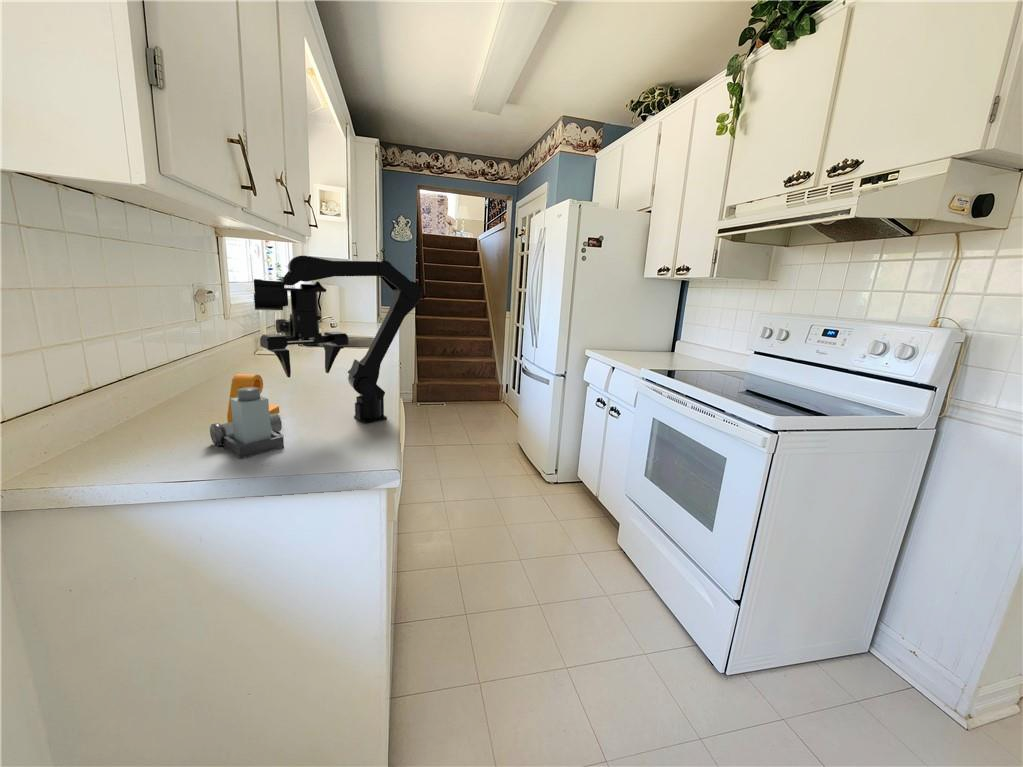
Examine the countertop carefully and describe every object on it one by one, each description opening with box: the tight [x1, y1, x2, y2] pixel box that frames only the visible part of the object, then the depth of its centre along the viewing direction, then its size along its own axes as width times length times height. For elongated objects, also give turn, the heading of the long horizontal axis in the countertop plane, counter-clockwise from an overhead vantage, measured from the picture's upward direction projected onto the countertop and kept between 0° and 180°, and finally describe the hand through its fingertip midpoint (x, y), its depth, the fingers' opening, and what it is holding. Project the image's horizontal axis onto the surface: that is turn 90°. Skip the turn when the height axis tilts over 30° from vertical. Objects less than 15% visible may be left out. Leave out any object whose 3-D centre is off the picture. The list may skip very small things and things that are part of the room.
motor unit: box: [209, 413, 285, 460], centre depth 93 cm, size 13×13×5 cm
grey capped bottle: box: [229, 387, 271, 445], centre depth 89 cm, size 5×5×13 cm
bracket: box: [226, 373, 280, 423], centre depth 106 cm, size 11×7×12 cm, turn 1°
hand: (308, 374), depth 103 cm, fingers open, 9 cm apart
